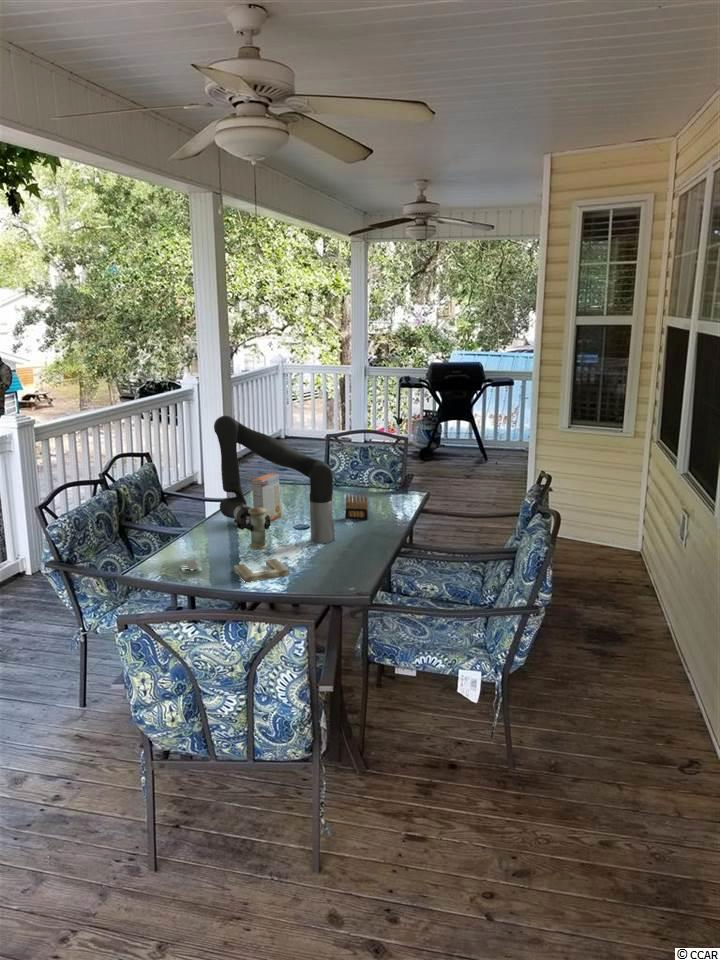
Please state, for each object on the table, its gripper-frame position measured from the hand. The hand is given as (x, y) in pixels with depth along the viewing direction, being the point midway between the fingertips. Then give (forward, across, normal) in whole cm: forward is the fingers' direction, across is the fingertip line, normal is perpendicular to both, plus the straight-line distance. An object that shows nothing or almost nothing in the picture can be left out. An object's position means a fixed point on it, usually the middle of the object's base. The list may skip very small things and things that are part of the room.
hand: (260, 527), depth 252 cm
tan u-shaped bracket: (-1, 0, +18) cm, 18 cm away
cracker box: (-66, +25, +18) cm, 73 cm away
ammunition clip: (-49, +62, +18) cm, 81 cm away
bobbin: (-3, 0, +8) cm, 8 cm away
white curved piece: (-20, -20, +19) cm, 34 cm away
